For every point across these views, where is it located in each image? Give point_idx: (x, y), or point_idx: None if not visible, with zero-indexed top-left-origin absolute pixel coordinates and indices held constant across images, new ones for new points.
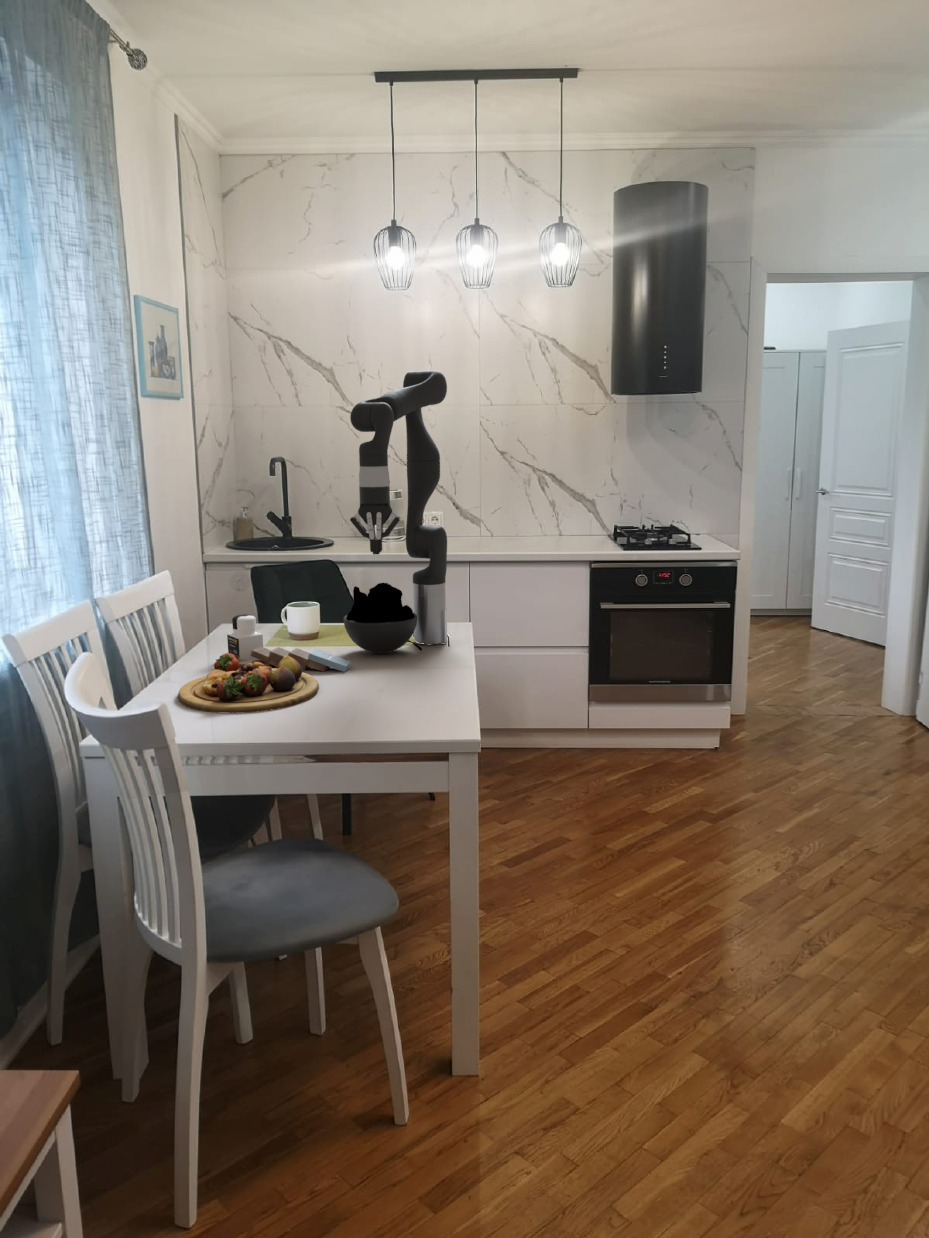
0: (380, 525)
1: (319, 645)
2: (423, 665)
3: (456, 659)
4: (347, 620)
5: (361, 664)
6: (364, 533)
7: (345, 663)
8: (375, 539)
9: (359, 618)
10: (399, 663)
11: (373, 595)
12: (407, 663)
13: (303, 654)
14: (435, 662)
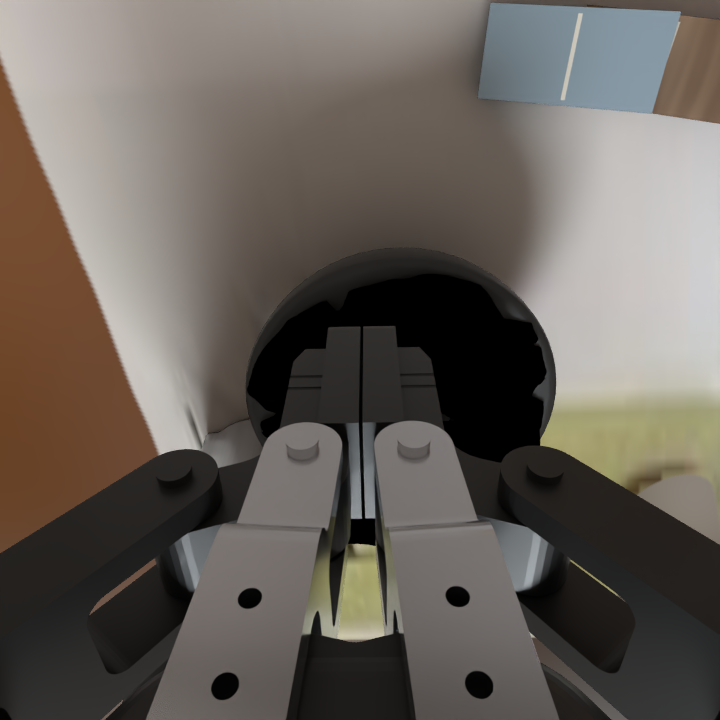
0: (209, 598)
1: (614, 412)
2: (196, 144)
3: (104, 243)
4: (535, 326)
5: (440, 149)
6: (552, 489)
7: (498, 42)
8: (366, 462)
9: (478, 289)
10: (296, 172)
11: None
12: (266, 174)
13: (699, 66)
14: (165, 194)
